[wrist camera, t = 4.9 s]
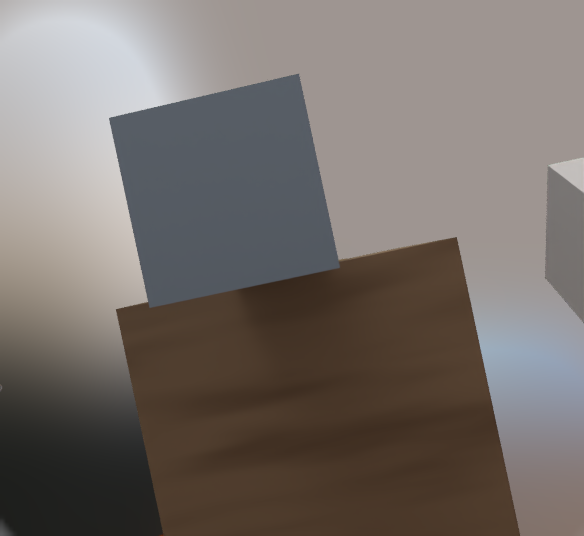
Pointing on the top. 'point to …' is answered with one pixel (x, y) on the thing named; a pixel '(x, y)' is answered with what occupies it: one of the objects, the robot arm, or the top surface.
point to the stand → (323, 405)
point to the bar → (224, 191)
